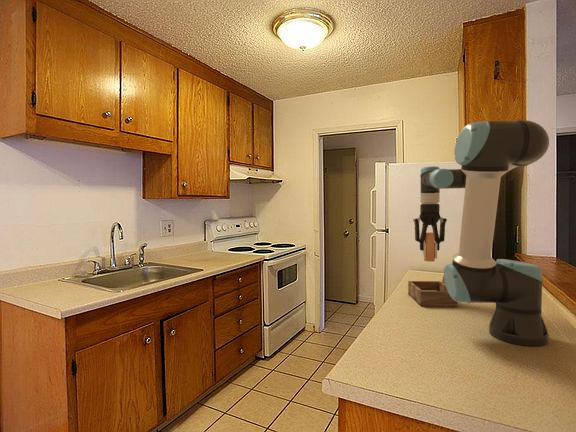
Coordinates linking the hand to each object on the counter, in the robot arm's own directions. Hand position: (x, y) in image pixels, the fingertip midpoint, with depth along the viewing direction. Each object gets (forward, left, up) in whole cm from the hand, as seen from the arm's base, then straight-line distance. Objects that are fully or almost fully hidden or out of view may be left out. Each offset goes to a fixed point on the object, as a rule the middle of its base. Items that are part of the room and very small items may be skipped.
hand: (429, 257), depth 144 cm
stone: (+14, -17, -18) cm, 28 cm away
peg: (0, 0, -1) cm, 1 cm away
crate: (-2, 0, -18) cm, 18 cm away
